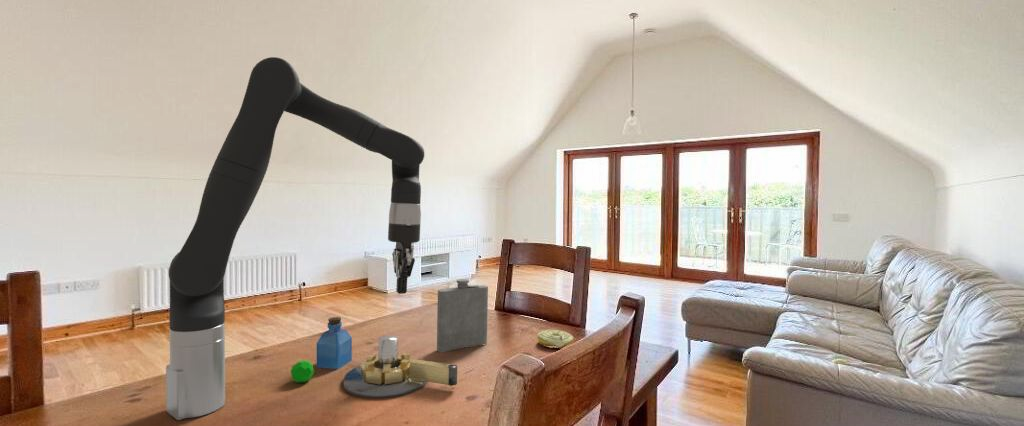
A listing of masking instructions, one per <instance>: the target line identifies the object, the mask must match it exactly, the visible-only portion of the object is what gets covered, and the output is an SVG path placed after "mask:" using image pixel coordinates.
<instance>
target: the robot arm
mask: <svg viewBox="0 0 1024 426" xmlns="http://www.w3.org/2000/svg"><path fill="white" fill-rule="evenodd" d="M244 93H245V94H244V96H243V99H242V102H241V103H242V104H241V106H240V109H239V110H238V111H239V112H238V115H237V116H236V118H235V119H234V122H233V124H232V126H231V127H230V129H229V131H228V132H227V133H228V134H227V136H226V138H225V139H224V142H223V144H222V146H221V148H220V151H219V152H218V154H217V156H216V158H215V161H214V163H213V165H212V167H211V170H210V172H209V174H208V177H207V180H206V184H205V186H204V190H203V193H202V197H201V201H200V205H199V209H198V214H197V217H196V220H195V223H194V225H193V227H192V229H191V231H190V233H189V235H188V236H187V239H186V240H185V242H184V244H183V246H182V247H181V249H180V251H179V252H178V253H176V255H175V256H174V257H173V258H172V260H171V262H170V265H169V267H168V278H169V318H168V319H169V321H168V322H169V363H168V364H167V365H166V366H165V396H166V398H165V401H166V403H165V406H166V410H165V411H166V412H165V413H168V414H169V415H170V416H171V417H173V418H174V419H175V420H177V421H181V420H184V419H190V418H196V417H197V418H198V417H202V416H204V415H205V416H206V415H207V414H212V413H213V412H216V411H218V410H219V409H221V408H222V407H223V406H224V405H225V403H226V353H225V352H226V347H225V346H226V344H225V343H226V341H225V340H226V335H225V334H226V323H225V321H226V317H225V316H226V315H225V314H226V313H225V312H226V309H225V287H224V286H225V285H224V284H225V275H226V270H227V266H228V263H229V262H228V261H229V259H230V255H231V252H232V249H233V245H234V242H235V238H236V237H237V234H238V232H239V229H240V228H241V225H242V224H243V222H244V220H245V218H247V217H246V216H247V214H248V213H249V211H250V210H251V207H252V206H253V203H254V201H255V199H256V197H257V194H258V192H259V190H260V188H261V185H262V183H263V181H264V179H265V175H266V173H267V171H268V168H269V165H270V164H269V163H270V159H271V157H272V156H271V155H272V151H273V146H274V140H275V136H276V135H275V134H276V131H277V128H278V125H279V122H280V120H281V118H282V116H283V114H284V113H285V112H286V113H289V114H291V115H294V116H297V117H300V118H302V119H305V120H308V121H310V122H312V123H314V124H317V125H319V126H321V127H323V128H324V129H327V130H329V131H331V132H333V133H334V134H336V135H339V136H341V137H342V138H344V139H347V140H348V141H350V142H352V143H353V144H356V145H357V146H359V147H361V148H363V149H365V150H366V151H369V152H373V153H375V154H376V153H378V154H380V155H381V156H384V157H385V158H387V159H389V160H391V177H392V181H391V182H392V184H391V192H390V206H389V213H388V229H387V230H388V231H387V240H388V241H389V242H391V243H395V248H393V251H392V253H391V255H392V261H393V262H392V263H393V269H394V270H393V272H394V274H395V277H396V286H395V287H396V288H395V289H396V293H398V294H399V295H400V294H401V295H402V294H407V291H408V290H407V289H408V279H409V277H411V275H412V271H413V268H414V265H415V261H416V260H415V257H414V249H413V246H412V244H413V243H414V244H415V243H418V242H420V240H421V239H420V238H421V218H422V211H421V210H422V209H421V195H422V186H421V182H420V167H421V166H420V165H421V164H422V163H423V162H424V159H425V149H424V147H423V146H422V144H421V143H420V142H419V141H417V140H416V139H415V138H413V137H411V136H409V135H406V134H404V133H403V132H399V131H397V130H395V129H392V128H389V127H387V126H386V125H384V124H383V123H381V122H379V121H377V119H376V120H375V119H374V118H373V117H370V116H369V115H367V114H365V113H363V112H360V111H358V110H356V109H353V108H351V107H349V106H345V105H342V104H340V103H339V104H338V103H336V102H333V101H331V100H329V99H327V98H324V97H322V96H320V95H319V94H318V93H316V92H314V91H312V90H311V89H310V88H308V87H306V86H305V85H304V84H302V83H301V82H300V78H299V75H298V73H297V71H296V69H295V68H294V66H293V65H292V64H291V63H289V61H287V60H285V59H283V58H281V57H274V56H271V57H266V58H264V59H262V60H260V61H259V62H257V63H256V64H255V66H253V68H252V70H251V71H250V75H249V80H248V83H247V86H246V90H245V92H244Z"/></svg>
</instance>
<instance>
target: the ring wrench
mask: <svg viewBox="0 0 1024 426" xmlns="http://www.w3.org/2000/svg"><path fill="white" fill-rule="evenodd" d="M365 359H366V360H365V361H362V362H361V364H360V366H361V377H362V379H363V381H366V382H368V383H374V384H380V385H381V384H382V383H384V384H391V383H396V382H402V380H407V379H408V378H409V377H410V379H414V380H420V381H426V382H428V383H434V384H438V385H439V384H440V385H446V386H450V387H451V386H456V385H457V384H458V365H457V364H451V363H443V362H436V361H428V360H423V359H417V358H415V359H412V357H411V354H410V353H408V352H403V353H400V354H398V353H397V367H396V368H391V364H386V365H384V366H383V369H380V368H378V364H379V355H377V354H369V355H367V356H366V358H365Z"/></svg>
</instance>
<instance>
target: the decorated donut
mask: <svg viewBox="0 0 1024 426" xmlns="http://www.w3.org/2000/svg"><path fill="white" fill-rule="evenodd" d="M537 341H538V343H539V344H540V345H541V344H542V345H545V346H556V347H558V348H559V349H558V350H562V349H561V348H563V347H565V346H567V345H569V344H571V343H573V344H574V342H573V341H574V336H573V335H572V334H570V333H569V332H567V331H564V330H560V329H544V330H541V331H540V332H538V334H537ZM542 345H541V346H542Z"/></svg>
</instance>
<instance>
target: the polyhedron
mask: <svg viewBox="0 0 1024 426" xmlns="http://www.w3.org/2000/svg"><path fill="white" fill-rule="evenodd" d="M290 374H291V378H292V380H293V381H294V382H296V383H300V384H301V383H306V382H307V381H308V380H309V379H311V378H313V375H314V374H315V369H314V366H313V363H312V362H310V361H309V360H306V359H305V360H304V359H303V360H299V361H298V362H297V363H295V364H293V365H292V367H291V369H290Z"/></svg>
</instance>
